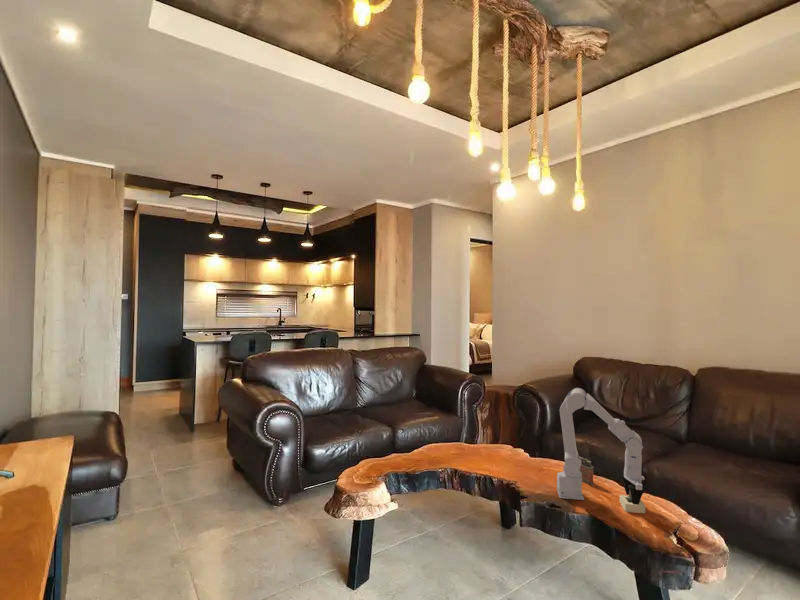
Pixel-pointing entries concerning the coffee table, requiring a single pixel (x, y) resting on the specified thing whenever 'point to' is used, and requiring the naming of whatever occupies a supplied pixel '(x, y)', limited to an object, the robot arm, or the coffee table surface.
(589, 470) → the lighter
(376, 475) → the coffee table surface
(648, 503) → the coffee table surface
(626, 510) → the block with square hole
